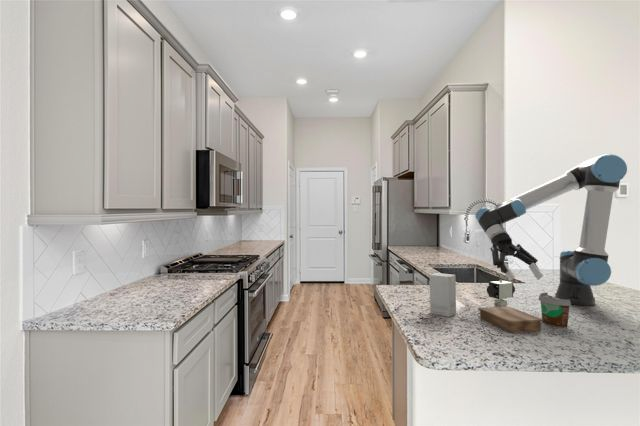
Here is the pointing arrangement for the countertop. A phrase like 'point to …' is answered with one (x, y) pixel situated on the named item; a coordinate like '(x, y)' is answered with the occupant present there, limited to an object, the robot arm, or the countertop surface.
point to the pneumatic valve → (500, 292)
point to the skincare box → (443, 294)
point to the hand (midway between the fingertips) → (526, 278)
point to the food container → (554, 310)
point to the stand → (510, 319)
